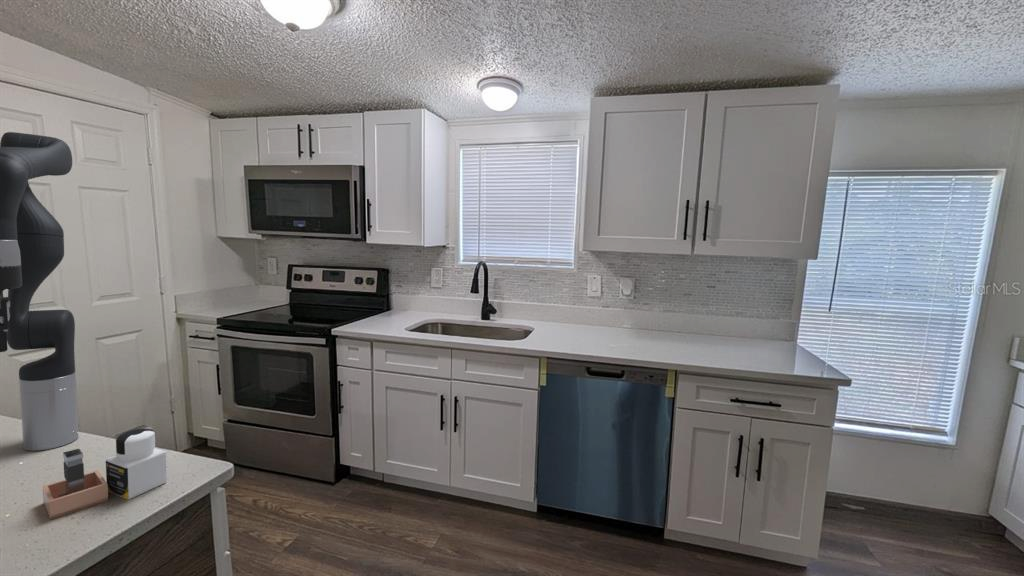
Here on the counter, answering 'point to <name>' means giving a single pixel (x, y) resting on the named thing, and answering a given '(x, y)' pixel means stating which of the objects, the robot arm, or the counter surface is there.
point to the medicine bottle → (135, 464)
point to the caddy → (75, 495)
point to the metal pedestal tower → (73, 472)
